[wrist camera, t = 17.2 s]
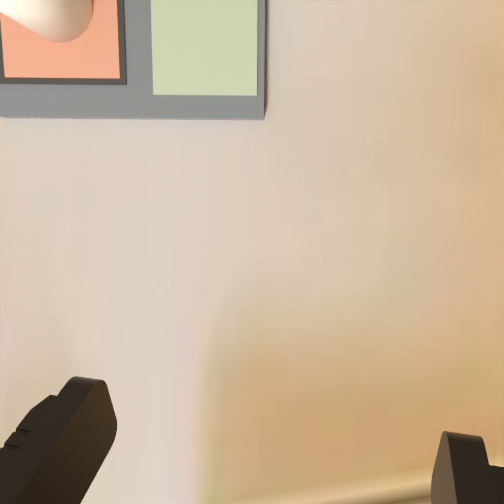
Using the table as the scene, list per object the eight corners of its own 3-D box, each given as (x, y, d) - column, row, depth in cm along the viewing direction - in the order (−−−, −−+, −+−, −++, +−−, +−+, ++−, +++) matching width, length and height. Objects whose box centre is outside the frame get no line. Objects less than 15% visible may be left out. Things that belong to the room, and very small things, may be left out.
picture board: (265, -99, 31) (266, -110, 30) (263, 120, 34) (264, 118, 32) (-12, -105, 31) (-22, -116, 30) (5, 117, 33) (-3, 115, 32)
